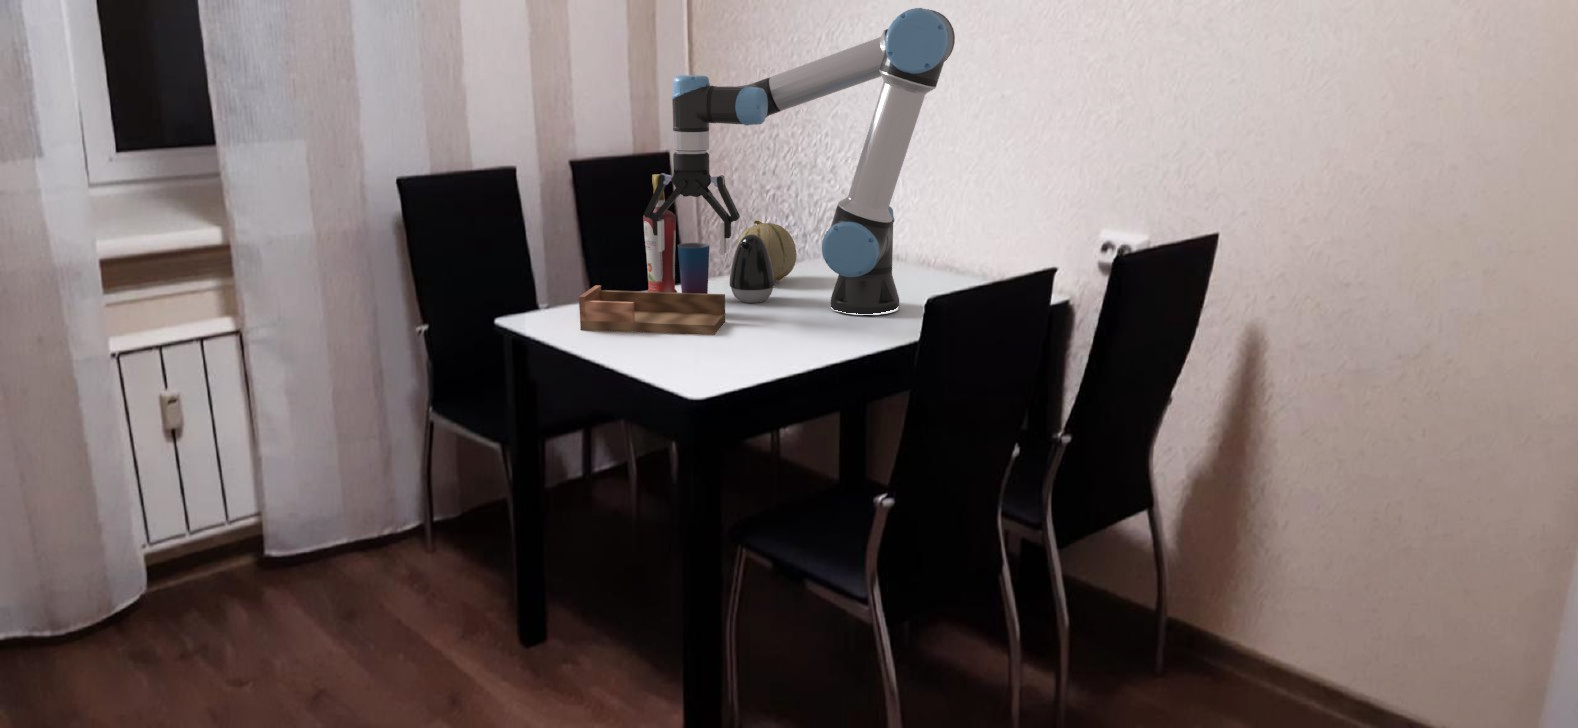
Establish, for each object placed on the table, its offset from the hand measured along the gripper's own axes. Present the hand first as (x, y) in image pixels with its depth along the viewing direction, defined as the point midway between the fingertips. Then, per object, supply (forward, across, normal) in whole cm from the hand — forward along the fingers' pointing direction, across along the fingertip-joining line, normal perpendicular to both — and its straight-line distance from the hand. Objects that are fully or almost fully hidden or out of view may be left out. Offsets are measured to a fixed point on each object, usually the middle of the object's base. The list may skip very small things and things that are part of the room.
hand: (692, 252), depth 247 cm
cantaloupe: (+14, -10, -34) cm, 38 cm away
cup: (+14, 0, 0) cm, 14 cm away
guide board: (+14, +6, +12) cm, 19 cm away
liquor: (+14, +10, -14) cm, 22 cm away
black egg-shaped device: (+14, -10, -14) cm, 22 cm away
